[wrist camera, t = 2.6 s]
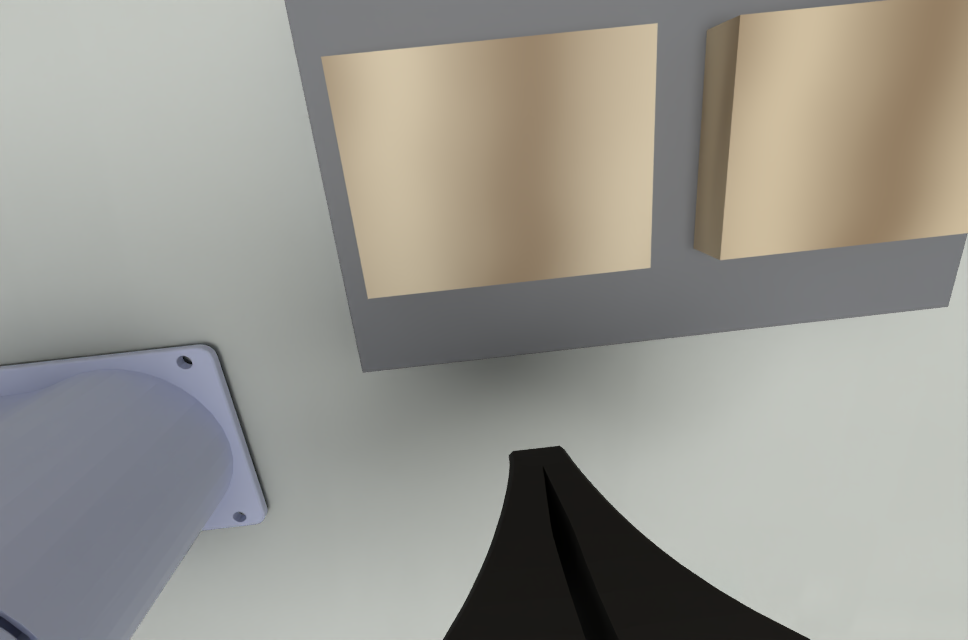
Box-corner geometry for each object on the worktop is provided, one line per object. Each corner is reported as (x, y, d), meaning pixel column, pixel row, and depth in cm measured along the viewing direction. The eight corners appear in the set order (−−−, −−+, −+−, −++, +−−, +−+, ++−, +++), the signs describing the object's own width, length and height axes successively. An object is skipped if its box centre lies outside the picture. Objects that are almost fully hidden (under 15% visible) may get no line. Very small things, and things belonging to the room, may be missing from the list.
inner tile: (376, 283, 15) (367, 298, 13) (336, 66, 13) (320, 56, 11) (630, 255, 15) (650, 268, 13) (633, 37, 13) (657, 23, 11)
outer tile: (693, 248, 15) (719, 260, 13) (706, 29, 13) (740, 14, 11) (941, 221, 15) (994, 230, 14) (994, 1, 13) (1065, -18, 11)
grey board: (372, 348, 18) (362, 372, 16) (304, 3, 14) (280, -19, 12) (896, 289, 18) (948, 306, 16) (974, -62, 14) (1055, -94, 12)
